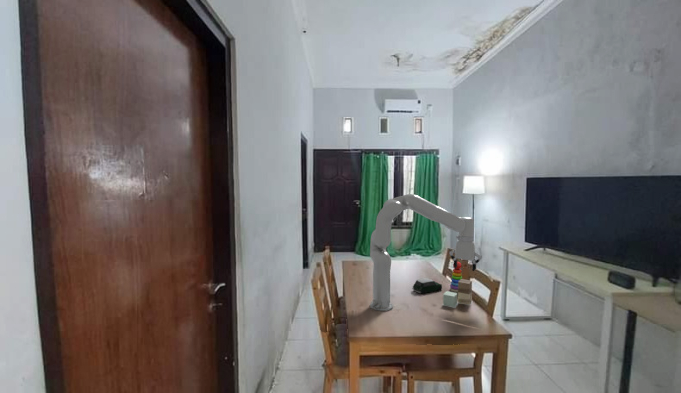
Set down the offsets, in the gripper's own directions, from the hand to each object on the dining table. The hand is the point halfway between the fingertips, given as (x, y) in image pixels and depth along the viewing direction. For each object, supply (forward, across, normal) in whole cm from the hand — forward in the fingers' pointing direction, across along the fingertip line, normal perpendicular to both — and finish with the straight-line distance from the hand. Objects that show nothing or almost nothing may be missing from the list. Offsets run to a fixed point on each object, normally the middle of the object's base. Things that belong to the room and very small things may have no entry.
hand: (464, 268), depth 173 cm
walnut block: (+13, +1, +1) cm, 13 cm away
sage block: (+19, -5, -7) cm, 21 cm away
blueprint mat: (+20, 0, -3) cm, 20 cm away
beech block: (+19, +1, +1) cm, 19 cm away
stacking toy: (+20, -8, +18) cm, 28 cm away
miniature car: (+21, -23, +7) cm, 32 cm away
